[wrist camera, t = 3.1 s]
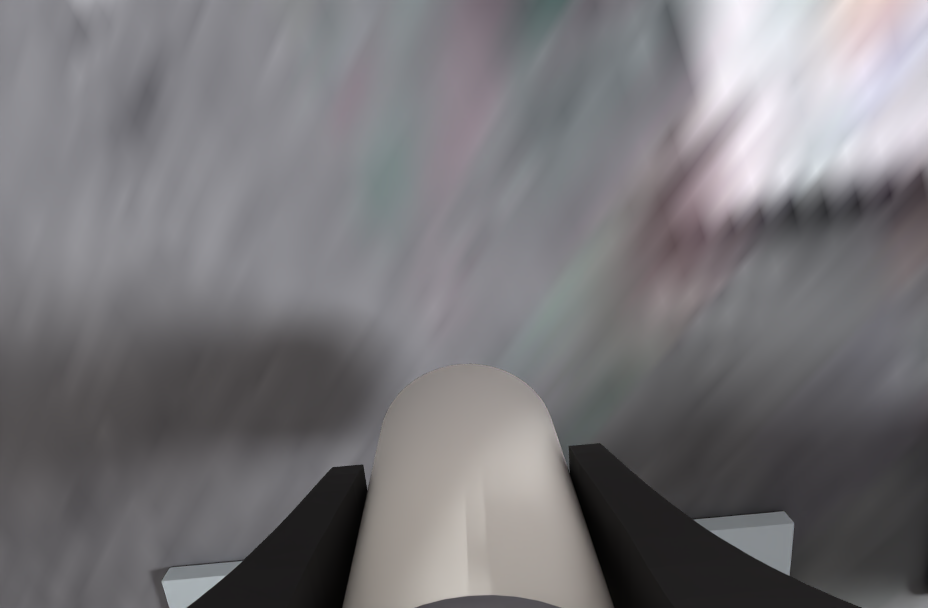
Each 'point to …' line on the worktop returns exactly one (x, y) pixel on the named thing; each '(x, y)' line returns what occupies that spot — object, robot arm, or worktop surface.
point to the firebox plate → (749, 533)
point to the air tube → (472, 503)
